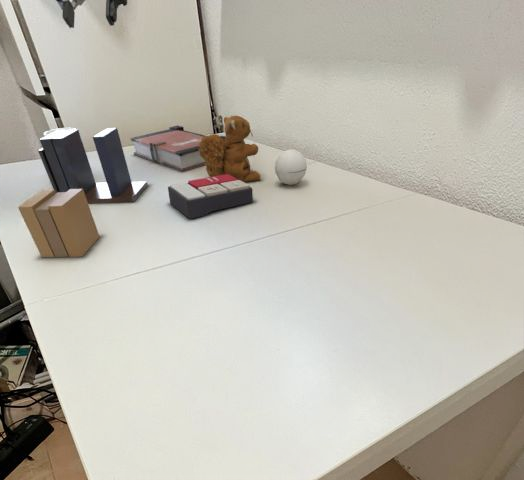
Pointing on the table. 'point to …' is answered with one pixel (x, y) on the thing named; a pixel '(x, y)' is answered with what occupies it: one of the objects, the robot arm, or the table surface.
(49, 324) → the table surface
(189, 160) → the book
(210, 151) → the stuffed squirrel
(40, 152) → the book stand
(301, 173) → the seamed sphere
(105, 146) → the navy book
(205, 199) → the grey and red device
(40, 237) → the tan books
